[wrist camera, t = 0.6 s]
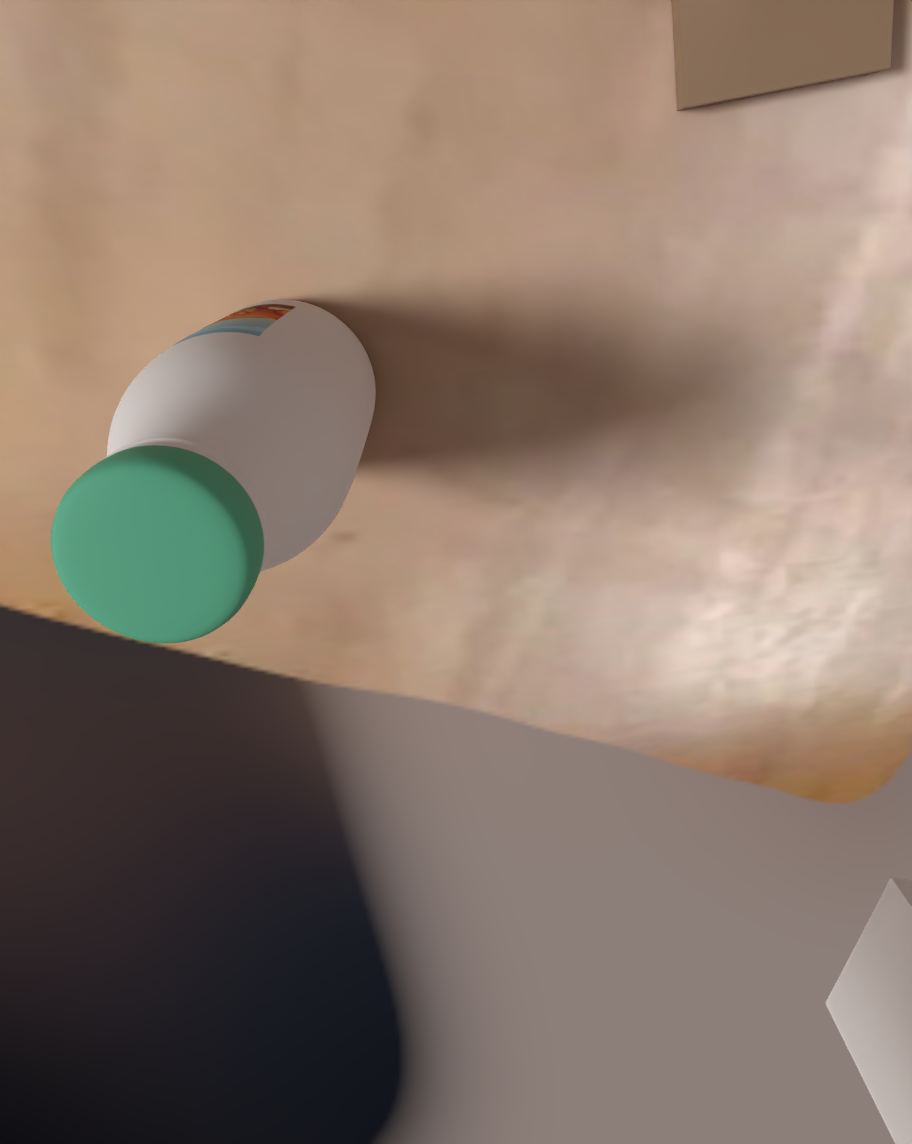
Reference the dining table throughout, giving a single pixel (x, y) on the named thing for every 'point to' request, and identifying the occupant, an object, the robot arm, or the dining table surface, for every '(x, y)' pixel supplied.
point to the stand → (774, 45)
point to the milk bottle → (216, 471)
